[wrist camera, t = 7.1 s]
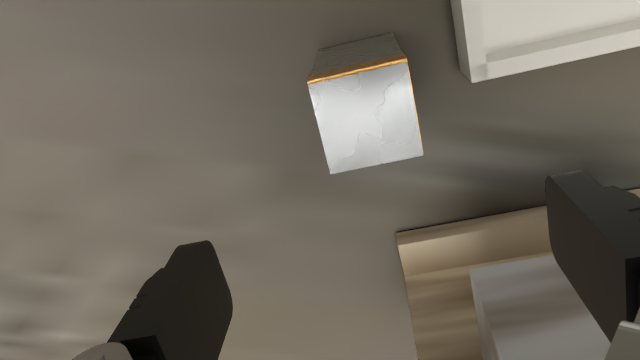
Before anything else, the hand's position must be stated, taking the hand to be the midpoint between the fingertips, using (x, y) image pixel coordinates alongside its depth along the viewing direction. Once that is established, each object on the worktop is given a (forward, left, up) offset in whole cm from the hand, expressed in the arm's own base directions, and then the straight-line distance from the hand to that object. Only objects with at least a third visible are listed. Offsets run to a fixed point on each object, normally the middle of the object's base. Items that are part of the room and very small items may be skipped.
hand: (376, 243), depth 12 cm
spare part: (0, 0, -18) cm, 18 cm away
